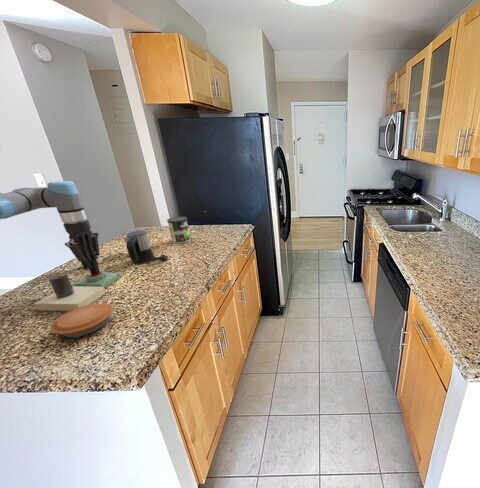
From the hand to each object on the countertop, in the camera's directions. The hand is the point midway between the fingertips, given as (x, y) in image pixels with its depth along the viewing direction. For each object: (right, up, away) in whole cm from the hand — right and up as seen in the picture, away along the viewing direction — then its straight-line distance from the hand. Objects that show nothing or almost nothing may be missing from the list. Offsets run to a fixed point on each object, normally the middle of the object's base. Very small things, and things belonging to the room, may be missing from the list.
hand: (95, 273), depth 112 cm
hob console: (+2, -9, -11) cm, 15 cm away
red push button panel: (0, -4, +2) cm, 5 cm away
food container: (-4, +7, +31) cm, 32 cm away
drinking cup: (-17, +1, +16) cm, 23 cm away
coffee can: (+10, +15, +49) cm, 52 cm away
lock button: (0, -2, +1) cm, 2 cm away
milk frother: (+9, +4, +23) cm, 25 cm away
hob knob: (0, -7, -12) cm, 14 cm away
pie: (+19, -15, -25) cm, 35 cm away
